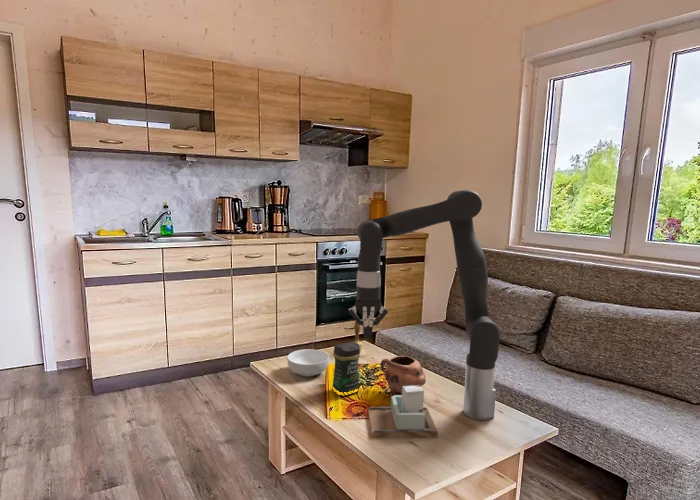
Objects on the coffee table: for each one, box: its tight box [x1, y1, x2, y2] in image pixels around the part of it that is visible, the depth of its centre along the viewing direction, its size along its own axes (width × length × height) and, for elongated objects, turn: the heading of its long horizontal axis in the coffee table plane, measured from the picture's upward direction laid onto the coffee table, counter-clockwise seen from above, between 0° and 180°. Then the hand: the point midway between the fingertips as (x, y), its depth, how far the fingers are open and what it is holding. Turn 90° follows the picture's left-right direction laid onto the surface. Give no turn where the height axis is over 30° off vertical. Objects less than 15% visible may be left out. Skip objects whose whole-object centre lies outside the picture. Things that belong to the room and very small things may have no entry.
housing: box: [390, 395, 426, 430], centre depth 136 cm, size 9×13×5 cm
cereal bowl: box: [287, 348, 330, 377], centre depth 175 cm, size 17×17×7 cm
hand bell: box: [353, 321, 367, 358], centre depth 196 cm, size 8×8×16 cm
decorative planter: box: [380, 355, 427, 396], centre depth 156 cm, size 20×12×14 cm, turn 51°
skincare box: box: [401, 386, 425, 413], centre depth 136 cm, size 6×4×12 cm
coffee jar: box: [332, 340, 360, 393], centre depth 158 cm, size 10×8×19 cm
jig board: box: [367, 406, 439, 439], centre depth 137 cm, size 20×15×2 cm
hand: (367, 337), depth 137 cm, fingers closed
